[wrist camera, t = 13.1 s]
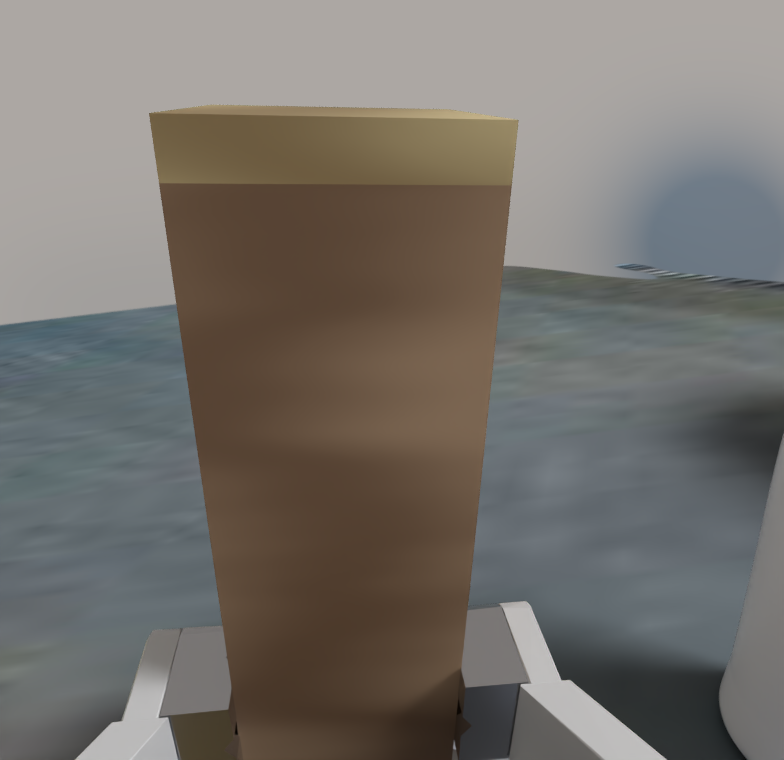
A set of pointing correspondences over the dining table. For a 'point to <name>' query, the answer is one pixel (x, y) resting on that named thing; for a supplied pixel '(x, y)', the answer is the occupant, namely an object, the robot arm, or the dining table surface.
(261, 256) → the wooden square rod
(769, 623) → the drinking glass
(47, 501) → the dining table surface
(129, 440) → the dining table surface
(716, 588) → the dining table surface
